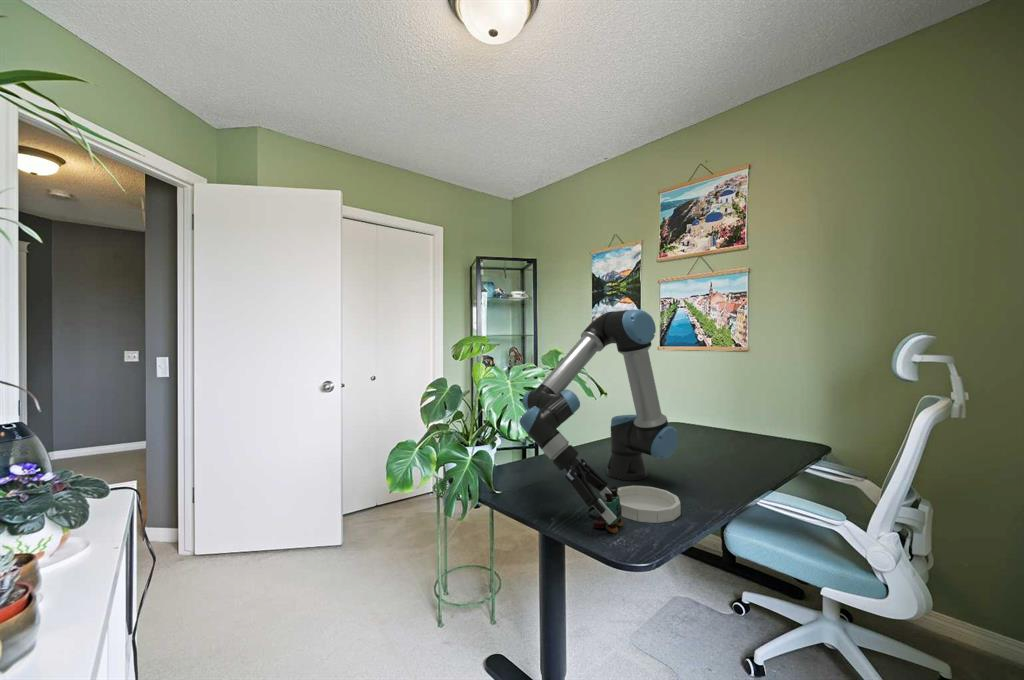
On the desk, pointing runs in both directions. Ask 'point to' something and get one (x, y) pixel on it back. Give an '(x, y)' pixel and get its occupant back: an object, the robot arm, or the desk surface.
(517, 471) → the desk surface
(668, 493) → the dish
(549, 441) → the robot arm
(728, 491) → the desk surface
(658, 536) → the desk surface
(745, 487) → the desk surface
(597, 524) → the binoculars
